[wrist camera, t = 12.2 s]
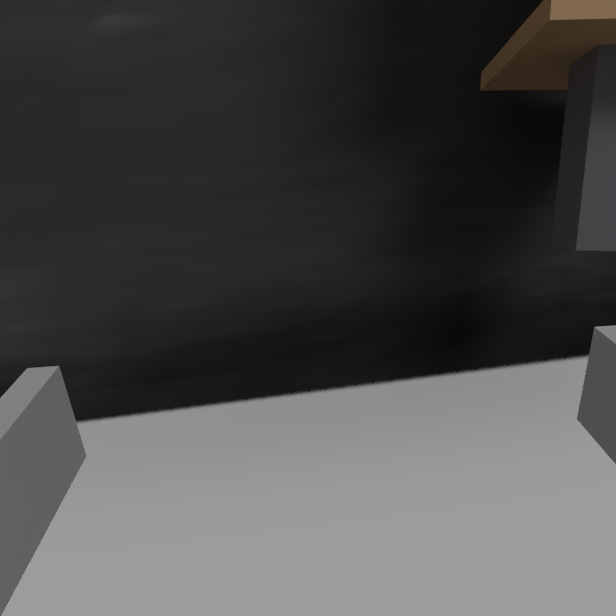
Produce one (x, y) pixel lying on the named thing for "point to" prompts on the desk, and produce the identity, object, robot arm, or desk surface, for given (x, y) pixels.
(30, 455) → the robot arm
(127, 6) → the desk surface
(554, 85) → the door
